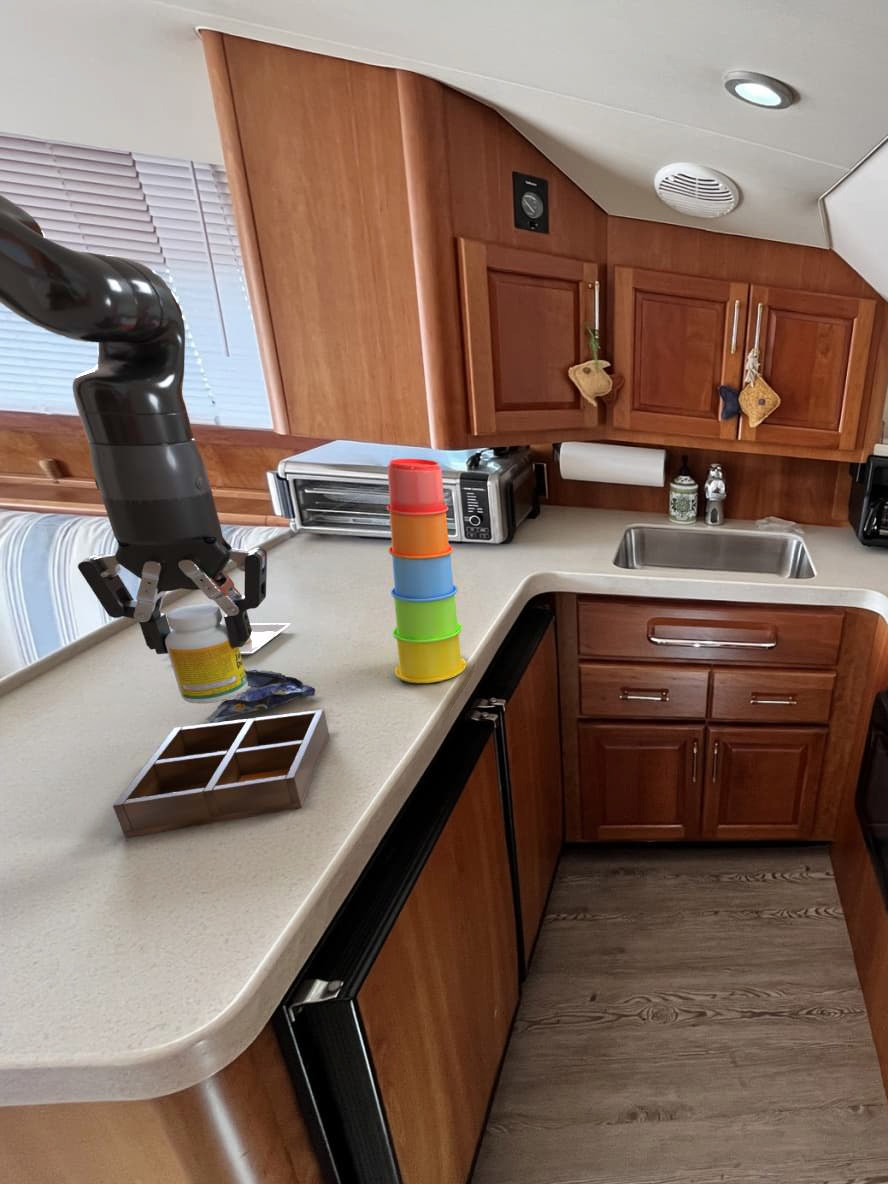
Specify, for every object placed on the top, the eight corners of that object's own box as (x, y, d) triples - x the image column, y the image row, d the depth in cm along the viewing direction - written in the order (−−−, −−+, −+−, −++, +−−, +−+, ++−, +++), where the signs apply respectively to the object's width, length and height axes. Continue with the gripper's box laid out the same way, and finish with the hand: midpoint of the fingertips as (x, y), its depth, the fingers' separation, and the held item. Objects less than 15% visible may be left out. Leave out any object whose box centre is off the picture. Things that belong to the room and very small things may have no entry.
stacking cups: (408, 657, 109) (377, 454, 96) (473, 656, 111) (450, 457, 99) (385, 686, 100) (347, 466, 87) (456, 684, 102) (429, 469, 89)
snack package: (216, 696, 94) (199, 735, 84) (215, 656, 92) (197, 691, 83) (317, 692, 100) (312, 728, 91) (318, 655, 99) (313, 687, 90)
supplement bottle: (175, 692, 68) (150, 610, 64) (239, 675, 72) (218, 597, 68) (191, 711, 65) (165, 626, 61) (256, 692, 69) (235, 611, 66)
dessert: (168, 660, 102) (159, 633, 100) (215, 629, 112) (208, 604, 111) (255, 658, 104) (248, 632, 102) (293, 628, 115) (287, 604, 113)
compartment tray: (124, 838, 68) (112, 806, 66) (183, 756, 81) (174, 727, 79) (301, 807, 74) (294, 777, 72) (329, 736, 87) (323, 709, 85)
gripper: (263, 480, 66) (297, 626, 72) (75, 480, 60) (129, 639, 67) (239, 496, 60) (278, 655, 66) (26, 498, 54) (91, 672, 60)
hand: (203, 646), depth 66 cm, fingers closed on supplement bottle, 5 cm apart
